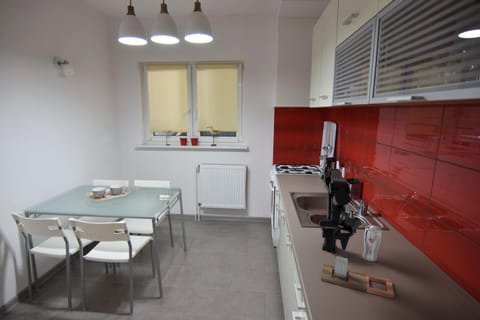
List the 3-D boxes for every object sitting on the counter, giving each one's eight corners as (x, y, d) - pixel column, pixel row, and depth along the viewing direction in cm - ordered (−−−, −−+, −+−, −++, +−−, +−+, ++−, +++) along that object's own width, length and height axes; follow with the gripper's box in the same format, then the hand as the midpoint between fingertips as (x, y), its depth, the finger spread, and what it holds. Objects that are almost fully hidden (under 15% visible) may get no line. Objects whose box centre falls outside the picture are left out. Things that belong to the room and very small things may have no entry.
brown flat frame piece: (323, 266, 117) (323, 264, 117) (390, 282, 107) (391, 279, 107) (320, 279, 108) (321, 277, 108) (393, 298, 98) (394, 296, 98)
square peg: (334, 272, 113) (336, 255, 111) (345, 275, 111) (347, 258, 109) (333, 279, 109) (335, 261, 107) (345, 282, 107) (347, 264, 105)
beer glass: (358, 257, 125) (362, 227, 121) (365, 252, 129) (369, 223, 126) (373, 264, 119) (378, 233, 116) (380, 258, 124) (384, 228, 121)
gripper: (344, 204, 100) (344, 248, 95) (368, 213, 111) (369, 253, 106) (319, 205, 108) (317, 245, 103) (343, 213, 119) (343, 250, 114)
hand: (337, 248), depth 106 cm, fingers open, 9 cm apart
